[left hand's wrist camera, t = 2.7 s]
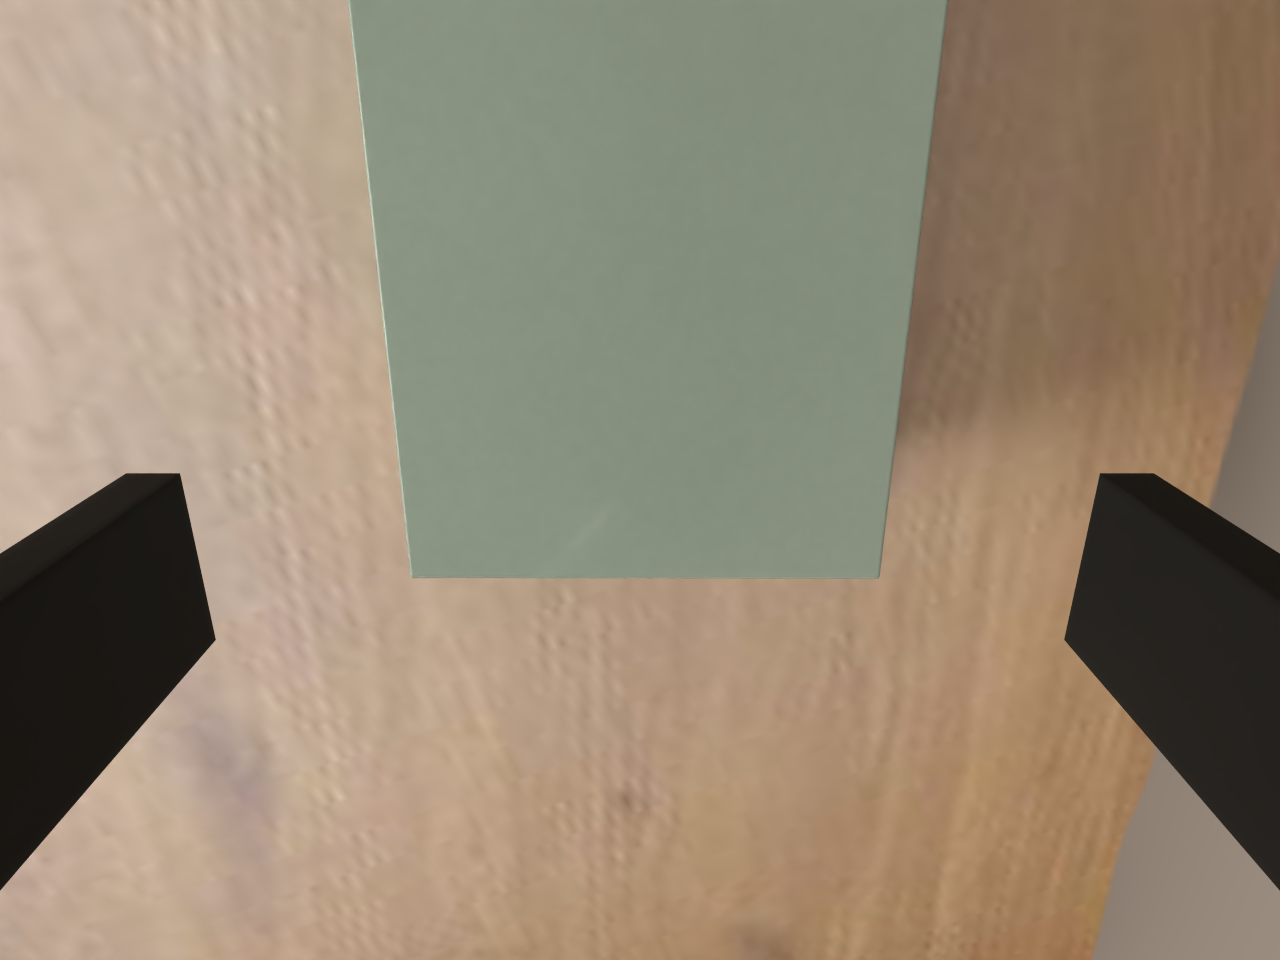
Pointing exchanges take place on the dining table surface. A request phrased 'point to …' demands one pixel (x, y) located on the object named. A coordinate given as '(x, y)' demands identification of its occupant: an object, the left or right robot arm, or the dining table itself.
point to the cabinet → (646, 277)
